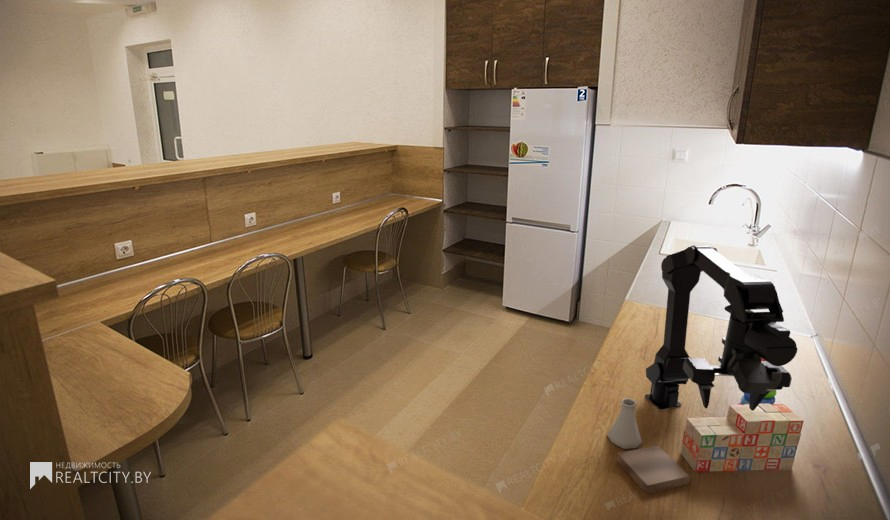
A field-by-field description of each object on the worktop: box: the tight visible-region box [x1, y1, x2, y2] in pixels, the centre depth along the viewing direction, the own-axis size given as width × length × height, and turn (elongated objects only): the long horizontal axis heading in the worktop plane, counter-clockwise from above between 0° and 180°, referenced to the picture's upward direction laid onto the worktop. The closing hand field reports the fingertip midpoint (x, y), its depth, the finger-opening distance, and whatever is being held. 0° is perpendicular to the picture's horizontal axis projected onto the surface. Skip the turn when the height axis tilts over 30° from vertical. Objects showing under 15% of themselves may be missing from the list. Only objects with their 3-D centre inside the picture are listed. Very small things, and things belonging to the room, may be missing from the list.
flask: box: [607, 397, 643, 450], centre depth 115 cm, size 7×7×10 cm
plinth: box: [616, 445, 691, 494], centre depth 106 cm, size 10×10×2 cm
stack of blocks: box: [680, 403, 805, 472], centre depth 108 cm, size 21×6×12 cm, turn 93°
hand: (728, 408), depth 104 cm, fingers open, 9 cm apart
